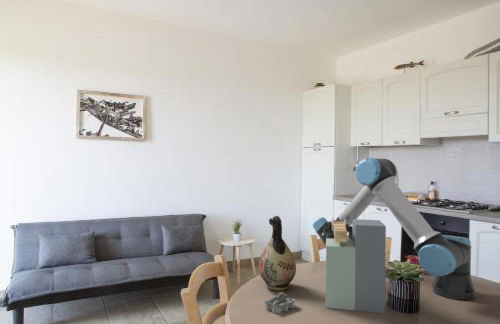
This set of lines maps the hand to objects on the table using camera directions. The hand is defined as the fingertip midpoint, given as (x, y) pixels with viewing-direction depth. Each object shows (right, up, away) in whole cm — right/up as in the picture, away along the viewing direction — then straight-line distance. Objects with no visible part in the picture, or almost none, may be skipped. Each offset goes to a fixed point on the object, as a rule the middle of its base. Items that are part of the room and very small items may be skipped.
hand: (339, 221), depth 141 cm
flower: (+45, -30, +32) cm, 62 cm away
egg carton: (-25, -28, -15) cm, 41 cm away
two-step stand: (+3, -28, -10) cm, 30 cm away
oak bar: (-1, -5, -4) cm, 6 cm away
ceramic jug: (-24, -28, +6) cm, 38 cm away
